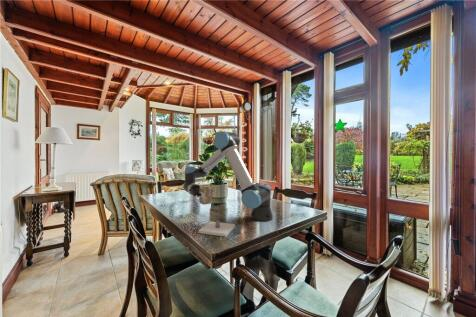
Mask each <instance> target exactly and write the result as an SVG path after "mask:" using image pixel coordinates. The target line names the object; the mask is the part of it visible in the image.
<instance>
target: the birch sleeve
mask: <svg viewBox="0 0 476 317" xmlns="http://www.w3.org/2000/svg"><path fill="white" fill-rule="evenodd" d="M212 190H213V187H210V186H201V187H199V192H202V193H205V198H203V197H200V196H199V197H198V199H199V200H198V201H199V202H198V203H199V204H201V205H211V204H213V199H212V198H213V196H212Z"/></svg>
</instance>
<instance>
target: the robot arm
mask: <svg viewBox="0 0 476 317" xmlns="http://www.w3.org/2000/svg"><path fill="white" fill-rule="evenodd" d="M240 143H241V142H240V137H239V135H238V134H237V133H235V132H229V131H226V130H223V131H222V130H221V131H218V132H217V133H216V134H215V135H214V138H213V145H214V146H215V148H216V149H217V150H216V151H214V153H213V154H212V155H211V156H210V157H209V158H207V160H205V162H203V163H202V164H201V165H200V166H199V167H197V168H196V167H195V166H194V165H188V166H187V165H186V166H185V168H184V182H183V185H182V189H183V190H184V191H185V192H186V193H188V194H189V195H192V196H194V197H197V198H199V196H200V197H203V198H205V193H202V192H199V187H202V186H201V185H199V184H197V183H196V179H198V178H205V177H207V176H208V175H209V172H210V171H211V170H213V169H214V168H215V167H216V166H217V165H218V164H219V163H220V162H221V161H223V159H224V158H226V159H227V162H228V164H229V165H230V167H231V169H232V172H233V173H234V175H235V177H236V180H237V181H238V184H239V186H240V193H241V198H240V199H241V203H242V204H243V206H244V207H246V208H248V209H251V212H250V219H251V220H254V221H257V222H269V220H270V221H272V220H273V219H274V217H273V212H272V208H271V200H272V199H271V196H272V190H271V188H272V186H270V185H269V184H259V183H257V182H255V181H254V180H253V178H252V177H251V175H250V172H249V171H248V168H247V166H246V165H245V163H244V161H243V159H242V157H241V155H240V152H239V150H238V147H239V145H240ZM215 196H216V195H215V192H214V190H213V189H212V198H215Z"/></svg>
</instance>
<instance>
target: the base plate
mask: <svg viewBox="0 0 476 317" xmlns="http://www.w3.org/2000/svg"><path fill="white" fill-rule="evenodd" d="M235 227H236V224H235V223H226V222H220V220H215V221H209V222H208V223H206V224H205V225H204V226H202V227H201V228H200V229H198V234H204V235H209V236H219V237H226V238H227V236H228V235H229V234H230V233H231V232H232V231H233V230H234V229H235Z"/></svg>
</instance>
